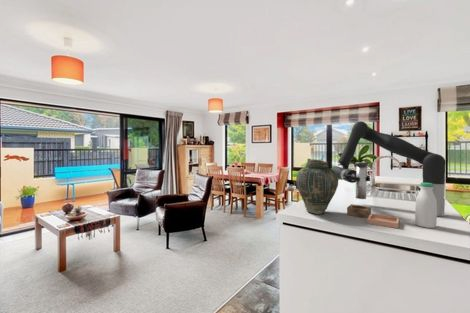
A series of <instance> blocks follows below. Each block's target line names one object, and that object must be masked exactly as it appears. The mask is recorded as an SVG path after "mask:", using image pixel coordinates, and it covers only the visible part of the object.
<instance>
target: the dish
mask: <svg viewBox="0 0 470 313" xmlns="http://www.w3.org/2000/svg"><path fill="white" fill-rule="evenodd" d="M366 219H367V221H366V222H367V223H366V224H369V225H375V226H380V225H381V227H385V226H386V227H387V228H391V227H392V229H398V230H399V225H400V217H398V216H391V215H385V214H380V213H379V214H377V213H372V212H371V214H370V216H369V217H368V218H366Z"/></svg>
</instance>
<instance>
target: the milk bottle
mask: <svg viewBox="0 0 470 313" xmlns="http://www.w3.org/2000/svg"><path fill="white" fill-rule="evenodd" d="M419 187H420V191H419V193H418V194H417V196H416V200H415V211H414V212H415V215H414V216H415V217H414V223H415V225H416V226H418V227H420V228H428V229H435V228H437V218H438V216H437V201H436V198H435V196H434V194H433V191H432V189H433V184H432V183H423V182H420V186H419Z"/></svg>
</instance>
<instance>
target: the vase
mask: <svg viewBox="0 0 470 313" xmlns="http://www.w3.org/2000/svg"><path fill="white" fill-rule="evenodd" d="M295 181H296V182H295V184H296V187H297V190H298V192H299V195H300V197H301V199H302V201H303V203H304V208H305V209H306V212H309V213H311V214H316V215H322V214H324V213H325V212H326V210H328V206H329V205H330V203H331V201H332V199H333V197H334V196H335V194H336V192H337V190H338V186H339V179H338V176H337V174H336V172H335V171H334V170H332V169H331V168H330V167H329V164H328V161H324V160H321V159H311V158H307V162H306V164H305V166H304V167H303V168H302V167H301V169H299V170H298V172H297V174H296V178H295Z"/></svg>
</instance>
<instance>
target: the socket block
mask: <svg viewBox="0 0 470 313" xmlns="http://www.w3.org/2000/svg"><path fill="white" fill-rule="evenodd" d="M371 213H372V206H366V205H360V204H353V203H351V204H350V205H348V206H347V208H346V215H347V216H353V217H358V218H365V219H368V217H369V216H370V214H371Z"/></svg>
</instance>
